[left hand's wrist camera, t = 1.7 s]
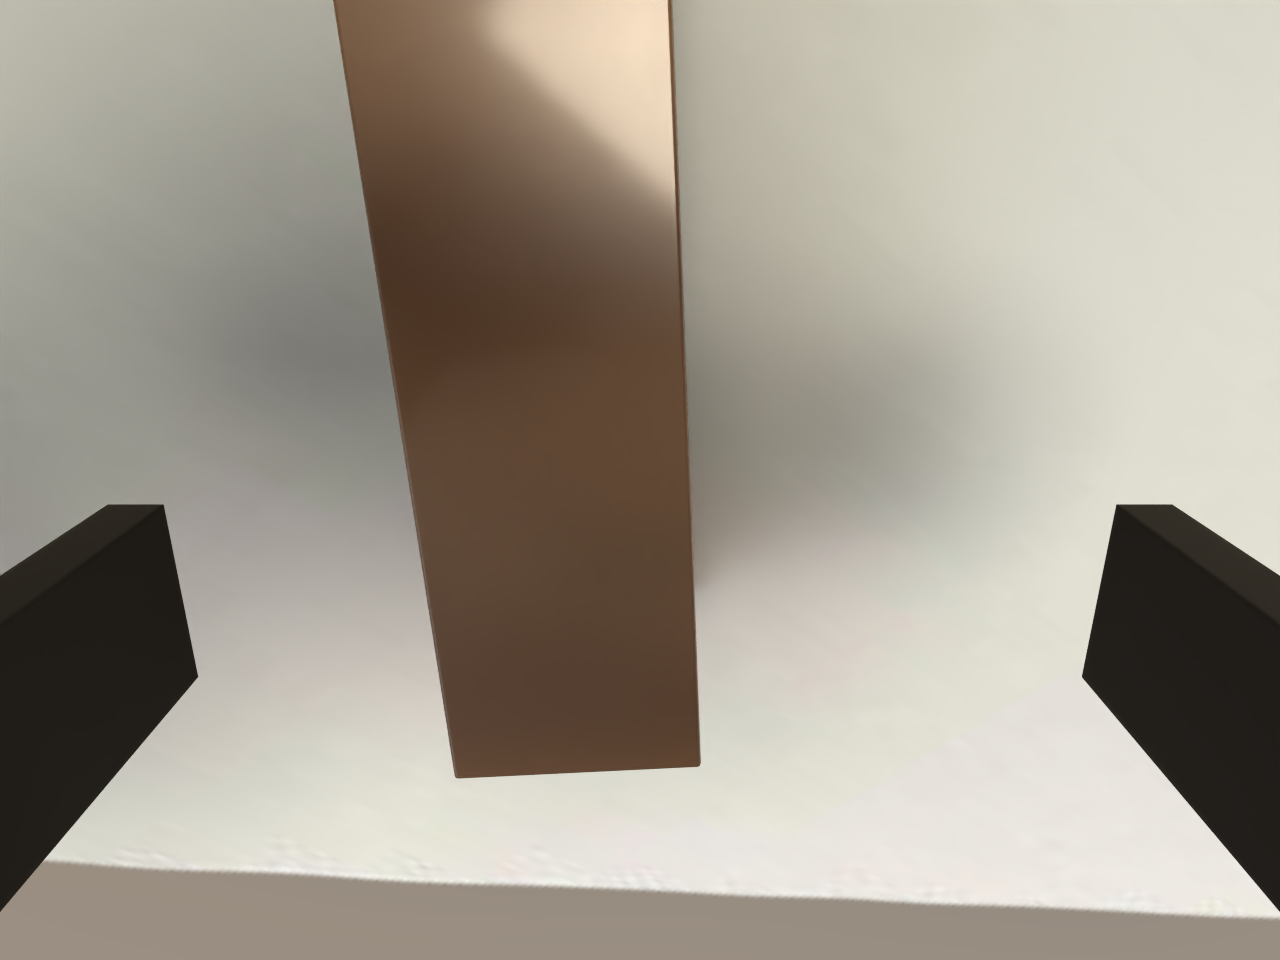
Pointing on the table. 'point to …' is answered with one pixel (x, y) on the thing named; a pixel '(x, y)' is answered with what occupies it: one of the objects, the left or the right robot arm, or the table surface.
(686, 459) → the post
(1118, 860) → the table surface
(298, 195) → the table surface
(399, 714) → the table surface
